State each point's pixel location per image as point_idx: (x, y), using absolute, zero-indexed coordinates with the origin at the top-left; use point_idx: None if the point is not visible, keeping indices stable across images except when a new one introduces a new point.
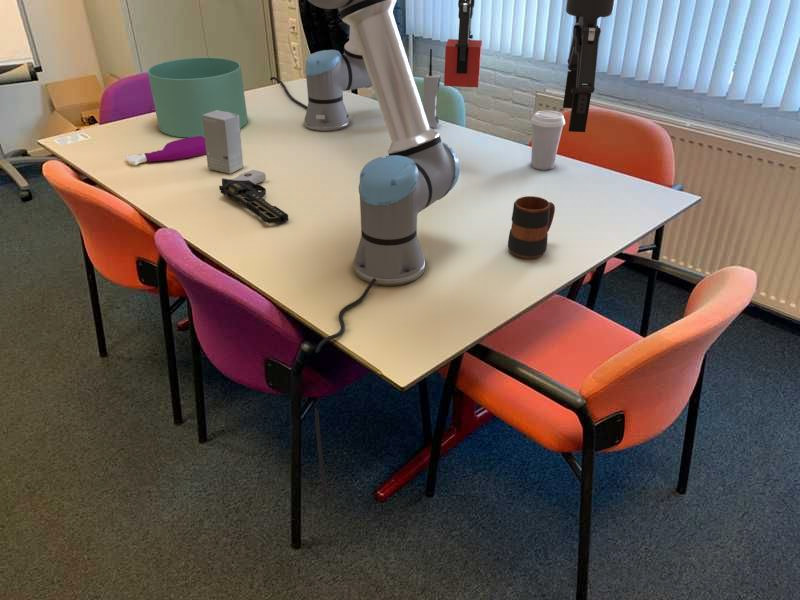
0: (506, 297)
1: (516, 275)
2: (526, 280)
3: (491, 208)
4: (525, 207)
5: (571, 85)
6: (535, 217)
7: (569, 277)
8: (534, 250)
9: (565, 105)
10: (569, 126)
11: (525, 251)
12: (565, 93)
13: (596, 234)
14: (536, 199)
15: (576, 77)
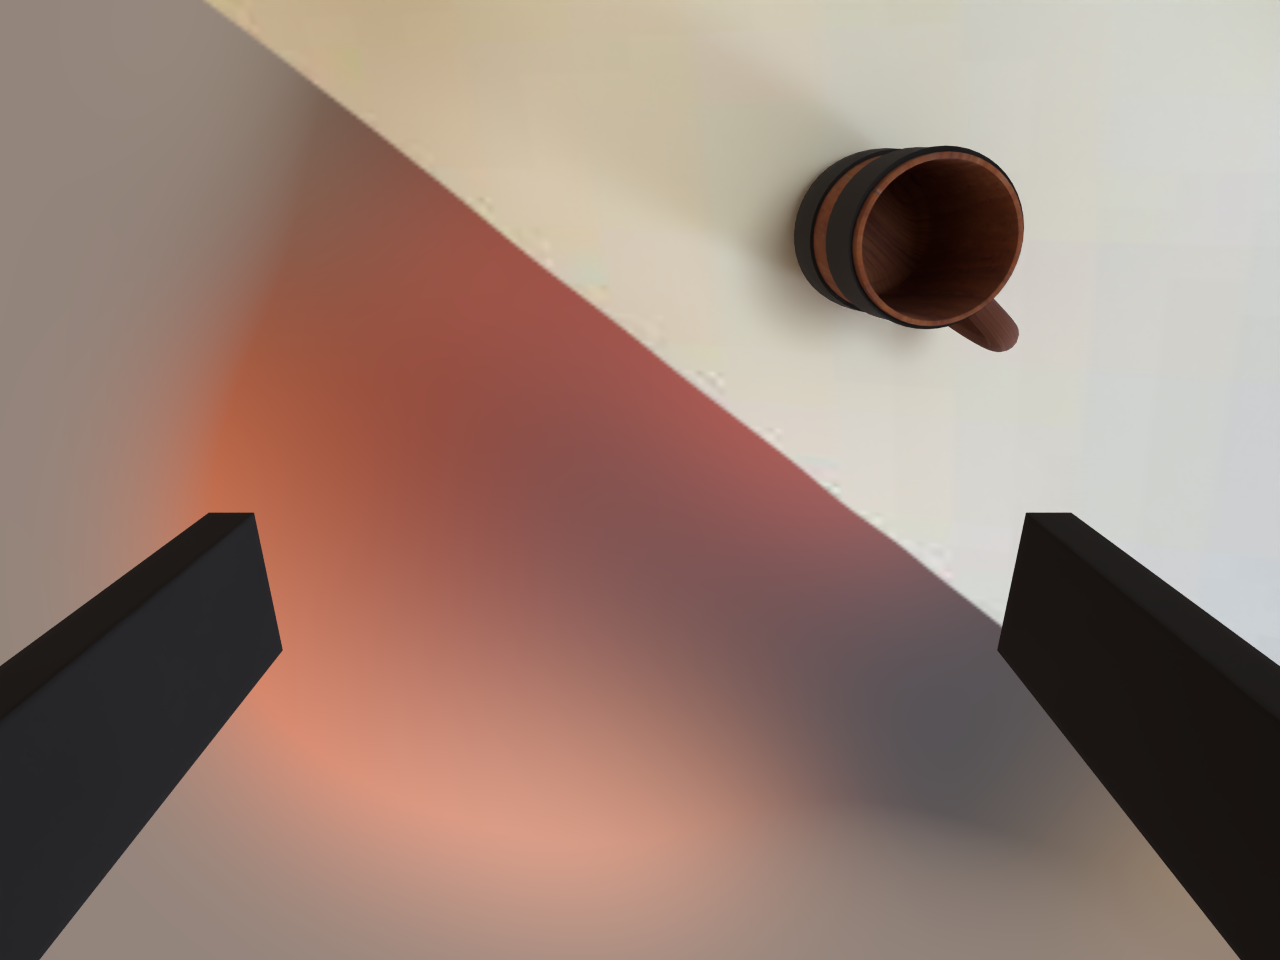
0: (522, 148)
1: (679, 187)
2: (648, 225)
3: (1275, 71)
4: (990, 214)
5: (1181, 728)
6: (842, 256)
7: (687, 375)
8: (801, 258)
9: (1034, 545)
10: (187, 534)
11: (799, 221)
12: (1127, 598)
13: (995, 490)
14: (1004, 266)
15: (1267, 877)
